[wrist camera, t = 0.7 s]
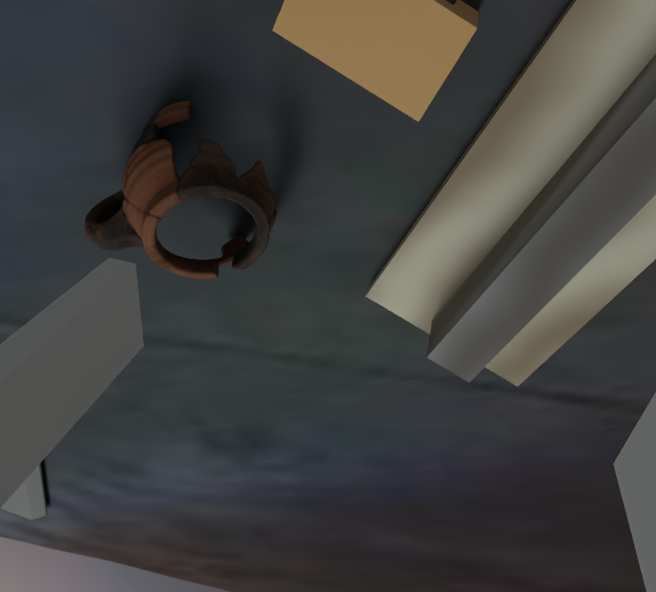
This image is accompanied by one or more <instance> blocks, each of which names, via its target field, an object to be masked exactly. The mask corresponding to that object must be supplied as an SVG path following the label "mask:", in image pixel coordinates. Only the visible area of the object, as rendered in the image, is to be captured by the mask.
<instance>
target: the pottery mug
mask: <svg viewBox="0 0 656 592" xmlns="http://www.w3.org/2000/svg"><path fill="white" fill-rule="evenodd" d="M191 106H192V105H191V102H190V101H181V102H176V103H174V104H171V105H169V106H167V107H165V108H163V109H162V110H160V111H159V112H158V113H156V114H155V115H154V116H153V117H152V118H151V119H150V121H149V122H148V123H147V125H146V127H145V128H144V130H143V132H142V134H141V136H140V139H139V140H138V141H137V143H136V145H135V148H134V149H133V151H132V153H131V155H130V157H129V160H128V162H127V165H126V168H125V171H124V174H123V179H122V190H120V191H119V192H117V193H115V194H113V195H111V196H109V197H107V198H106V199H104V200H103V201H101V202H100V203H98V204H97V205H96V206H95V207H94V208H92V209H91V211H90V212H89V213H88V214H87V216H86V218H85V231H86V236H87V237H88V238H89V239H90V240H91V241H92V242H93V243H94V244H95V245H96V246H98V247H99V248H102V249H106V250H111V251H113V250H121V249H125V248H127V247H133V246H136V247H142V248H145V250H146V252H147V254H148V255H149V256H150V257H151V259H152V260H153V261H154V262H155V263H157V264H158V265H159V266H161V267H162V268H164V269H165V270H168V271H169V272H172V273H174V274H176V275H179V276H182V277H189V278H194V279H213V278H217V277H218V273H219V271H218V267H219V266H223V265H227V264H230V263H232V267H233V268H234V269H246V268H248V267H249V266H250V265H252V264H253V263H254V262H255V261H256V260H257V259H258V258H259V257H260V256H261V255H262V253H263V252H264V250H265V248H266V247H267V244H268V241H269V233H270V231H271V229H272V228H273V225H274V222H275V219H276V214H277V212H276V210H275V207H276V201H275V198H274V196H273V194H272V192H271V190H270V188H269V186H268V183H267V179H266V177H265V171H264V168H263V165H262V162H261V161H260V160H258V161H257V162H256V163H255V165H254V167H252V169H250V170H249V171H247V172H246V173H245V174H243V175H242V176H240V177H239V178H237V176H236V170H235V166H234V165H233V163H232V161H231V160H230V159H229V158H228V157H227V156H226V155H225V154H224V153H223V151H222V149H221V146H220V145H219V144H218V143H216V142H213V141H210V140H207V139H202V140H200V141H199V147H198V154H197V155H195V157H194V158H193V159H192V161H191V163H190V165H189V166H188V168H187V169H186V170H185V171H184V173H183V174H182V175H181V177H179V176H178V174H177V171H176V168H175V164H174V149H173V146H172V145H171V144H170V142H169V141H167V140H165V139H161V140H158V138H157V133H158V131H159V129H161V128H163V127H166V126H168V125H171V124H174V123H177V122H181V121H185V120H188V119H189V118H190V109H191ZM199 197H216V198H223V199H227V200H231V201H233V202H236V203H238V204H240V205H241V206H242V207H244V208H245V209H246V210H247V211H248V212H249V213H250V214H251V215H252V217H253V218H254V220H255V224H256V231H255V234H254V237H253V239H252V240H251V241H250V242H248V241H247V240H246V239H245V238H244V237H242V236H238V237H236V238H234V239H232V240H230V241H229V242H227V243H226V244H224V245H223V246H222V248H221V252H222V254H223V255H222V257H221V258H217V259H210V260H196V259H188V258H184V257H180V256H177V255H175V254H172V253H170V252H169V251H167V250H166V249H165V248H164V247H163V246H162V245H161V244H160V242H159V241H158V239H157V234H156V231H157V226H158V223H159V221H160V220H161V218H162V217H163V216H164V214H165V213H166V212H167V211H169V210H170V209H171V208H173V207H174V206H176V205H178V204H179V203H181V202H182V201H183V200H189V199H193V198H199Z"/></svg>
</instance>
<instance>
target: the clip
mask: <svg viewBox="0 0 656 592" xmlns="http://www.w3.org/2000/svg"><path fill="white" fill-rule="evenodd" d="M477 25H478V11H477V10H475V9H473V8H472V7H470V6H469V5H467V4H466V3H464V2H463V1H461V0H457V1H456V2H455V4H454V5H452V4H451V3H449V2H448V1H446V0H285V1H284V3H283V6H282V8H281V10H280V13H279V15H278V18H277V20H276V23H275V25H274V27H273V30H272V31H274V32H276V33H277V34H279V35H280V36H282V37H284V38H285V39H287V40H288V41H290V42H292V43H293V44H295V45H296V46H298V47H300V48H301V49H303V50H304V51H306V52H308V53H309V54H311V55H312V56H314V57H316V58H317V59H319V60H320V61H322V62H324V63H325V64H327V65H328V66H330V67H332V68H333V69H335V70H336V71H338V72H340V73H341V74H343V75H344V76H346V77H348V78H349V79H351V80H352V81H354V82H356V83H357V84H359V85H360V86H362V87H364V88H365V89H367V90H368V91H370V92H372V93H373V94H375V95H376V96H378V97H380V98H381V99H383V100H384V101H386V102H388V103H389V104H391V105H392V106H394V107H396V108H397V109H399V110H400V111H402V112H404V113H405V114H407V115H408V116H410V117H412V118H413V119H415V120H416V121H418V122H419V120H420V119H421V117H422V116H423V114H424V112H425V111H426V109H427V108H428V106H429V104H430V103H431V101H432V100H433V98H434V96H435V95H436V93H437V92H438V90H439V89H440V87H441V85H442V84H443V82H444V81H445V79H446V77H447V76H448V74H449V73H450V71H451V69H452V68H453V66H454V65H455V63H456V61H457V60H458V58H459V57H460V55H461V53H462V52H463V50H464V49H465V47H466V46H467V44H468V42H469V41H470V39H471V38H472V36H473V34H474V33H475V31H476V30H477Z"/></svg>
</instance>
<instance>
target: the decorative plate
mask: <svg viewBox="0 0 656 592" xmlns="http://www.w3.org/2000/svg"><path fill="white" fill-rule="evenodd" d="M1 509H3V510H6V511H9V512H11V513H14V514H17V515H20V516H22V517H25V518H28V519H31V520H33V519H37V518H40V517H43V516H46V515H47V507H46V500H45V493H44V485H43V478H42V470H41V463H40V464H39V465H38V466H37V467H36V469H35V470H34V471H33V472H32V473H31V474H30V475H29V476H28V478H27V479H26V480H25V481H24V482H23V483H22V484H21V486H20V487H19V488H18V489H17V490H16V491H15V492H14V493H13V495H12V496H11V497H10V498H9V499H8V500H7V501H6V503H5V504H4V505H3V506H2V507H1Z"/></svg>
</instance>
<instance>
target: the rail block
mask: <svg viewBox="0 0 656 592" xmlns="http://www.w3.org/2000/svg"><path fill="white" fill-rule="evenodd" d="M655 259H656V0H572V1H571V3H570V4H569V6H568V7H567V9H566V10H565V11H564V13H563V14H562V16H561V17H560V18H559V20H558V21H557V23H556V24H555V25H554V27H553V28H552V30H551V31H550V33H549V34H548V35H547V37H546V38H545V40H544V41H543V42H542V44H541V45H540V47H539V48H538V50H537V51H536V52H535V54H534V55H533V57H532V58H531V59H530V61H529V62H528V64H527V65H526V66H525V68H524V69H523V71H522V72H521V74H520V75H519V76H518V78H517V79H516V81H515V82H514V83H513V85H512V86H511V88H510V89H509V90H508V92H507V93H506V95H505V96H504V98H503V99H502V100H501V102H500V103H499V105H498V106H497V107H496V109H495V110H494V112H493V113H492V115H491V116H490V117H489V119H488V120H487V122H486V123H485V124H484V126H483V127H482V129H481V130H480V131H479V133H478V134H477V136H476V137H475V139H474V140H473V141H472V143H471V144H470V146H469V147H468V148H467V150H466V151H465V153H464V154H463V155H462V157H461V158H460V160H459V161H458V163H457V164H456V165H455V167H454V168H453V170H452V171H451V172H450V174H449V175H448V177H447V178H446V180H445V181H444V182H443V184H442V185H441V187H440V188H439V189H438V191H437V192H436V194H435V195H434V196H433V198H432V199H431V201H430V202H429V204H428V205H427V206H426V208H425V209H424V211H423V212H422V213H421V215H420V216H419V218H418V219H417V220H416V222H415V223H414V225H413V226H412V228H411V229H410V230H409V232H408V233H407V235H406V236H405V237H404V239H403V240H402V242H401V243H400V245H399V246H398V247H397V249H396V250H395V252H394V253H393V254H392V256H391V257H390V259H389V260H388V261H387V263H386V264H385V266H384V267H383V269H382V270H381V271H380V273H379V274H378V276H377V277H376V278H375V280H374V281H373V283H372V284H371V285H370V287H369V288H368V291H367V294H366V297H368V298H369V299H371V300H373V301H375V302H376V303H378V304H380V305H381V306H383V307H385V308H386V309H388V310H390V311H391V312H393V313H395V314H396V315H398V316H400V317H401V318H403V319H405V320H407V321H408V322H410V323H412V324H413V325H415V326H417V327H418V328H420V329H422V330H423V331H425V332H427V333H428V334H430V338H429V345H428V352H427V358H429V359H430V360H432V361H434V362H435V363H437V364H439V365H440V366H442V367H444V368H445V369H447V370H449V371H451V372H452V373H454V374H456V375H457V376H459V377H461V378H462V379H464V380H466V381H468V382H470V381H471V380H472V379H473V378H474V377H475V376H476V375H477V374H478V373H479V372H480V371H481V370H482V369H483V368H484V367H486V368H487V369H489V370H491V371H492V372H494V373H496V374H497V375H499V376H501V377H502V378H504V379H506V380H508V381H509V382H511V383H513V384H514V385H516V386H519V385H520V384H521V383H522V382H523V381H524V380H525V379H526V378H527V377H528V376H530V375H531V374H532V373H533V372H534V371H535V370H536V369H537V368H538V367H539V366H540V365H541V364H543V363H544V362H545V361H546V360H547V359H548V358H549V357H550V356H551V355H552V354H553V353H554V352H555V351H557V350H558V349H559V348H560V347H561V346H562V345H563V344H564V343H565V342H566V341H567V340H568V339H570V338H571V337H572V336H573V335H574V334H575V333H576V332H577V331H578V330H579V329H580V328H581V327H583V326H584V325H585V324H586V323H587V322H588V321H589V320H590V319H591V318H592V317H593V316H594V315H596V314H597V313H598V312H599V311H600V310H601V309H602V308H603V307H604V306H605V305H606V304H607V303H608V302H610V301H611V300H612V299H613V298H614V297H615V296H616V295H617V294H618V293H619V292H620V291H621V290H623V289H624V288H625V287H626V286H627V285H628V284H629V283H630V282H631V281H632V280H633V279H634V278H636V277H637V276H638V275H639V274H640V273H641V272H642V271H643V270H644V269H645V268H646V267H647V266H648V265H650V264H651V263H652V262H653V261H654V260H655Z"/></svg>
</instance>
